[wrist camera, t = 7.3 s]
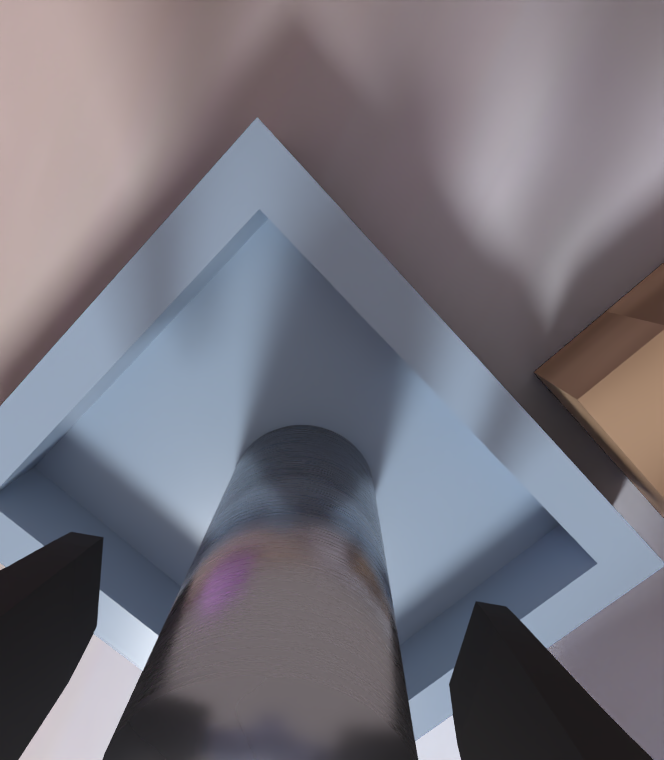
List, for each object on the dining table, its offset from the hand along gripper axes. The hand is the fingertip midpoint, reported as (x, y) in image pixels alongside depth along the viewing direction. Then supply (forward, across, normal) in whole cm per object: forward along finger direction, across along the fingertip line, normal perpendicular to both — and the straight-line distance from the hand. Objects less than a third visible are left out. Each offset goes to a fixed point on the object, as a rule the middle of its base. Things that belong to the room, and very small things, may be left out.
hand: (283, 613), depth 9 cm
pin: (+5, 0, 0) cm, 5 cm away
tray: (+5, 0, 0) cm, 5 cm away
